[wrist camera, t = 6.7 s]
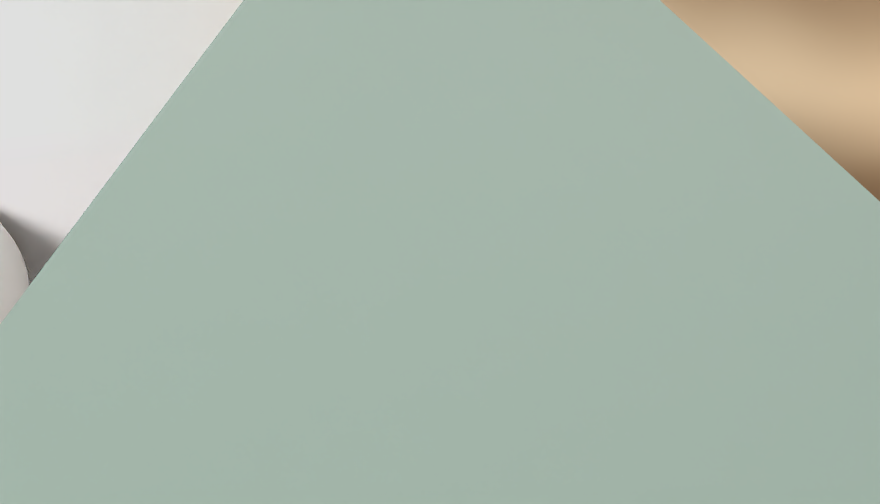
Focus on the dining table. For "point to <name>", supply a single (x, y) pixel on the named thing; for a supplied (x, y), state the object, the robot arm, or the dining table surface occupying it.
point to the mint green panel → (455, 277)
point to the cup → (10, 273)
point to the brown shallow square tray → (806, 67)
